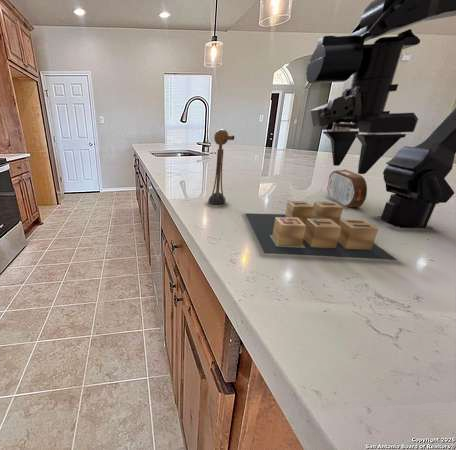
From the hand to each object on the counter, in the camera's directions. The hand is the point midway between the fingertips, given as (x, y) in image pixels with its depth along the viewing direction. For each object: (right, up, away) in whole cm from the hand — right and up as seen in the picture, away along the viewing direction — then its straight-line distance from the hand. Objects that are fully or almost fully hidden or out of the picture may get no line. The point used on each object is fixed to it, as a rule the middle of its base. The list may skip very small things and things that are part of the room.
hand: (347, 169), depth 49 cm
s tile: (-14, -14, -3) cm, 20 cm away
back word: (-4, -10, +5) cm, 12 cm away
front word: (-6, -15, -5) cm, 17 cm away
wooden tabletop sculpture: (-21, -6, +20) cm, 29 cm away
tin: (+12, -5, +18) cm, 22 cm away
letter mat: (-8, -13, +1) cm, 16 cm away
